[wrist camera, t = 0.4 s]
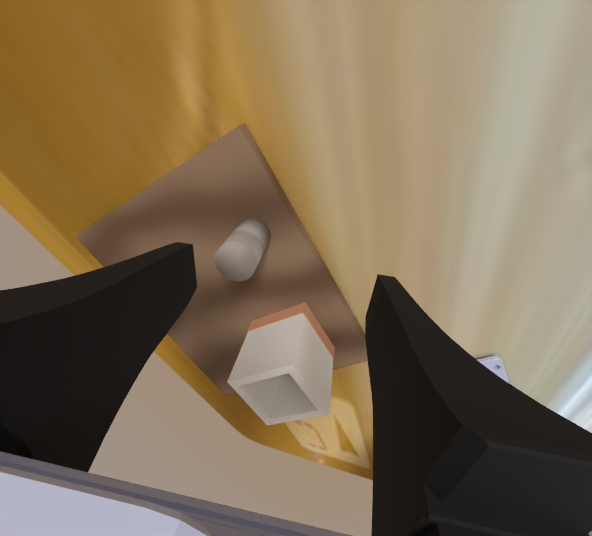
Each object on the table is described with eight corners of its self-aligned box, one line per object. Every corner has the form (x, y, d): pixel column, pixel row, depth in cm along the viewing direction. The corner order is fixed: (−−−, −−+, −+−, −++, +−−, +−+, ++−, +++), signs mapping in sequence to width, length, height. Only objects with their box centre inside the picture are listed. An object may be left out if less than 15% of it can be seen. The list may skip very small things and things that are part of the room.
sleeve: (334, 346, 24) (331, 414, 19) (282, 361, 26) (267, 426, 21) (305, 301, 22) (292, 363, 17) (251, 320, 24) (226, 381, 19)
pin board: (373, 348, 25) (378, 402, 21) (229, 385, 31) (210, 434, 27) (245, 123, 18) (210, 135, 13) (86, 230, 23) (26, 262, 19)
